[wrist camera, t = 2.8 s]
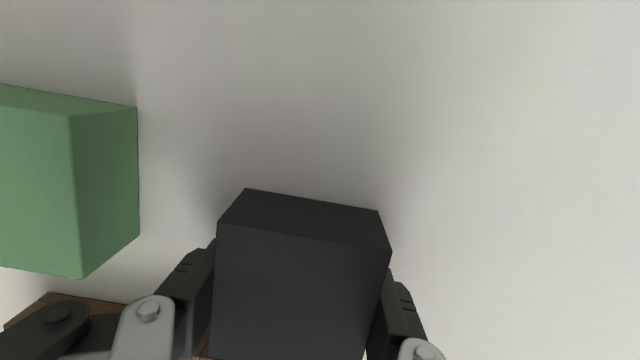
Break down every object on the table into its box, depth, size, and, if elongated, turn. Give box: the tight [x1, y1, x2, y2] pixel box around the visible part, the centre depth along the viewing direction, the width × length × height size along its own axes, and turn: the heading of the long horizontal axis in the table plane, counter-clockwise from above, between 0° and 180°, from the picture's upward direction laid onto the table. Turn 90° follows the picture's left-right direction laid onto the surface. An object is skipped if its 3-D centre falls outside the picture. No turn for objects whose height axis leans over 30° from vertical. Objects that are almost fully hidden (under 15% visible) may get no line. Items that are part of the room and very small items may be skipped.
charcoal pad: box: [208, 188, 392, 360], centre depth 12 cm, size 6×6×3 cm
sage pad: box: [0, 84, 139, 280], centre depth 11 cm, size 6×6×3 cm
